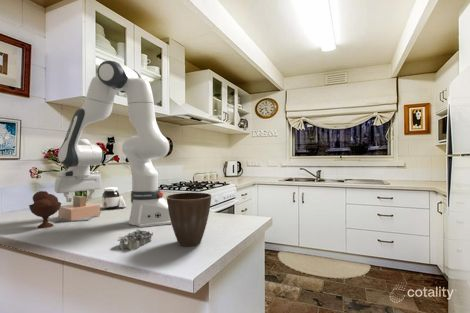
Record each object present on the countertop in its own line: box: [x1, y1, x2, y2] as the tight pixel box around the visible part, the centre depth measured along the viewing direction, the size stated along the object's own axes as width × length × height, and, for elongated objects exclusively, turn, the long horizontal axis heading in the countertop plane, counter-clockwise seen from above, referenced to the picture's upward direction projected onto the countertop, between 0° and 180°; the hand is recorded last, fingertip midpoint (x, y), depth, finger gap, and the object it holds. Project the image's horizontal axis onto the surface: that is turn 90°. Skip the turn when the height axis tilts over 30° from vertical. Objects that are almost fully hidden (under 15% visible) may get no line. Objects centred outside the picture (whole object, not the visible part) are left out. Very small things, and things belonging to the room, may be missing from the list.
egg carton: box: [116, 229, 154, 251], centre depth 85 cm, size 11×8×4 cm
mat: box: [53, 211, 102, 223], centre depth 124 cm, size 14×18×1 cm
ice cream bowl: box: [28, 190, 62, 229], centre depth 107 cm, size 11×11×15 cm
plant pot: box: [165, 192, 212, 248], centre depth 86 cm, size 15×15×16 cm
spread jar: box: [101, 186, 127, 211], centre depth 145 cm, size 12×11×12 cm
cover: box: [57, 195, 101, 221], centre depth 124 cm, size 13×13×10 cm
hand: (79, 200), depth 124 cm, fingers open, 8 cm apart
